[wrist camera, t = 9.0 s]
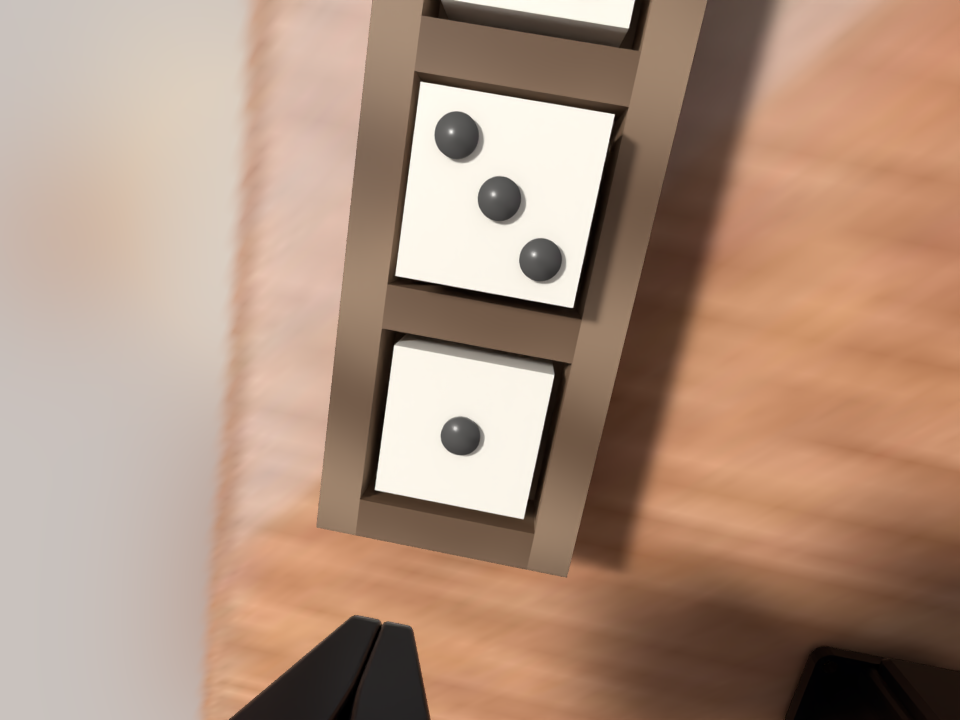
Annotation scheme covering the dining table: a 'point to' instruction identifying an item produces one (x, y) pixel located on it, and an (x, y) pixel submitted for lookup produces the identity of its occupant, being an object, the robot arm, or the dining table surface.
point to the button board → (486, 316)
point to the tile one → (463, 424)
